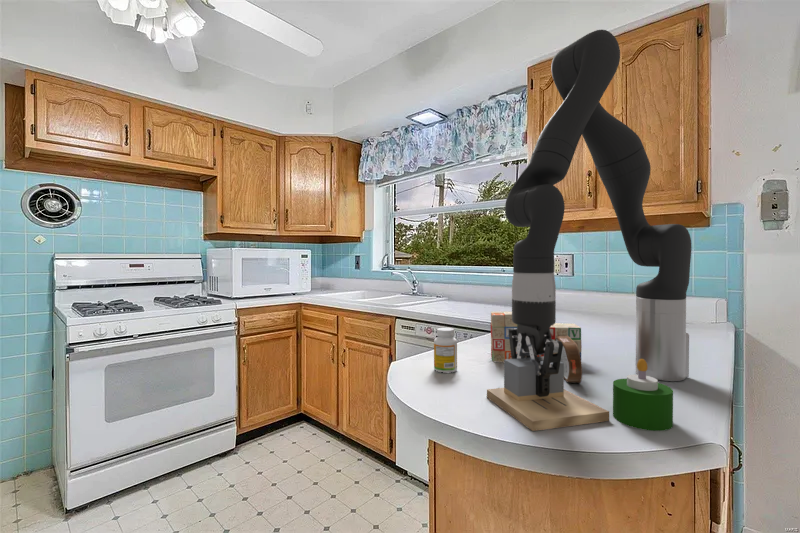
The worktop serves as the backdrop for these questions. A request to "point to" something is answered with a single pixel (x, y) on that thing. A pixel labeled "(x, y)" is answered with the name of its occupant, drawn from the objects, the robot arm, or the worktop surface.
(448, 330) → the supplement bottle
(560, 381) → the block
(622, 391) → the candle
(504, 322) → the stack of blocks
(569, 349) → the tin
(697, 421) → the worktop surface
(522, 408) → the board
